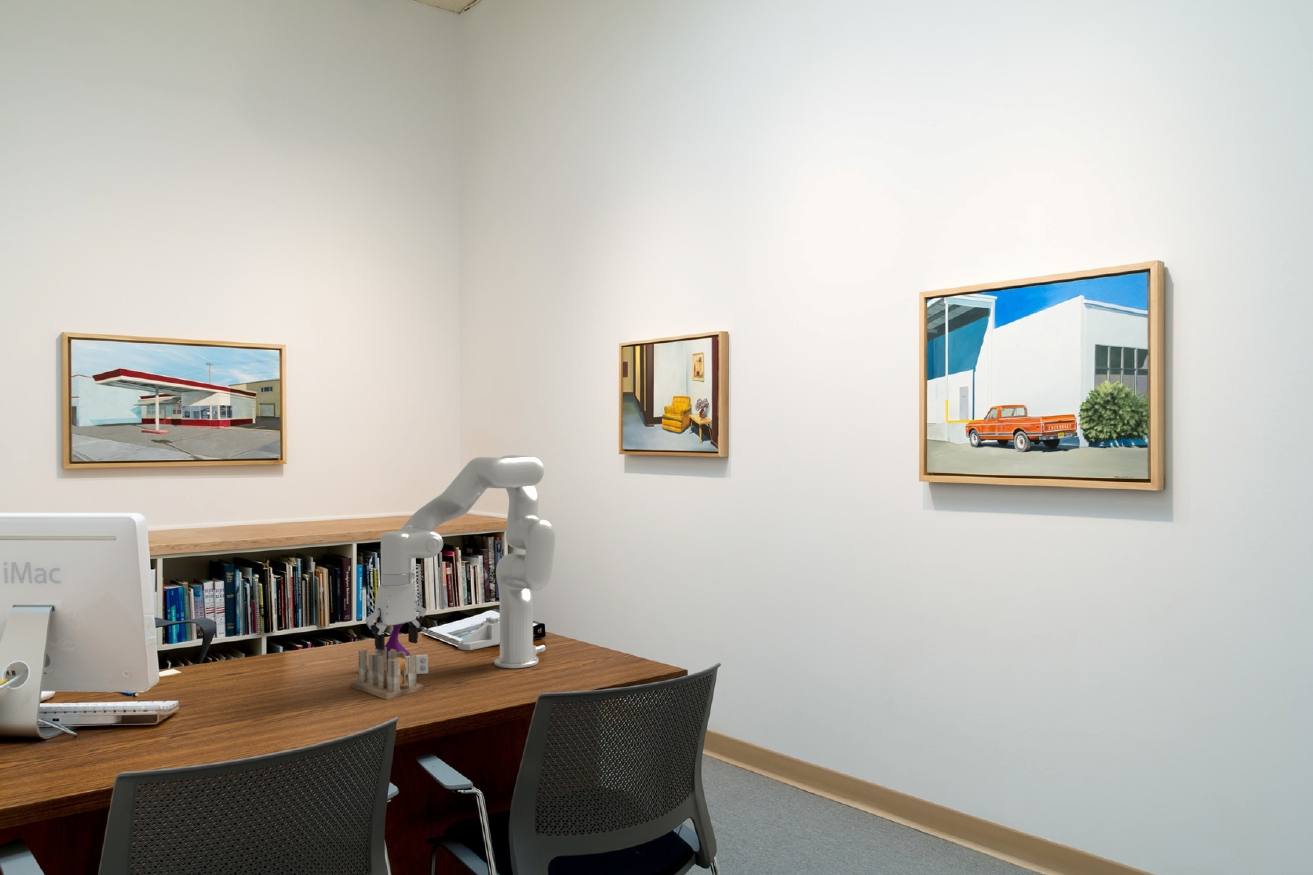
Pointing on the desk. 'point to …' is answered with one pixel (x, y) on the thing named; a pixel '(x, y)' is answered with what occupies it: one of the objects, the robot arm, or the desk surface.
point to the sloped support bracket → (482, 636)
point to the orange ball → (401, 663)
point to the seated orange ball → (400, 679)
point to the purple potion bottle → (395, 642)
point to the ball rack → (379, 674)
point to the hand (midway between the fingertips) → (396, 645)
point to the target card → (419, 664)
